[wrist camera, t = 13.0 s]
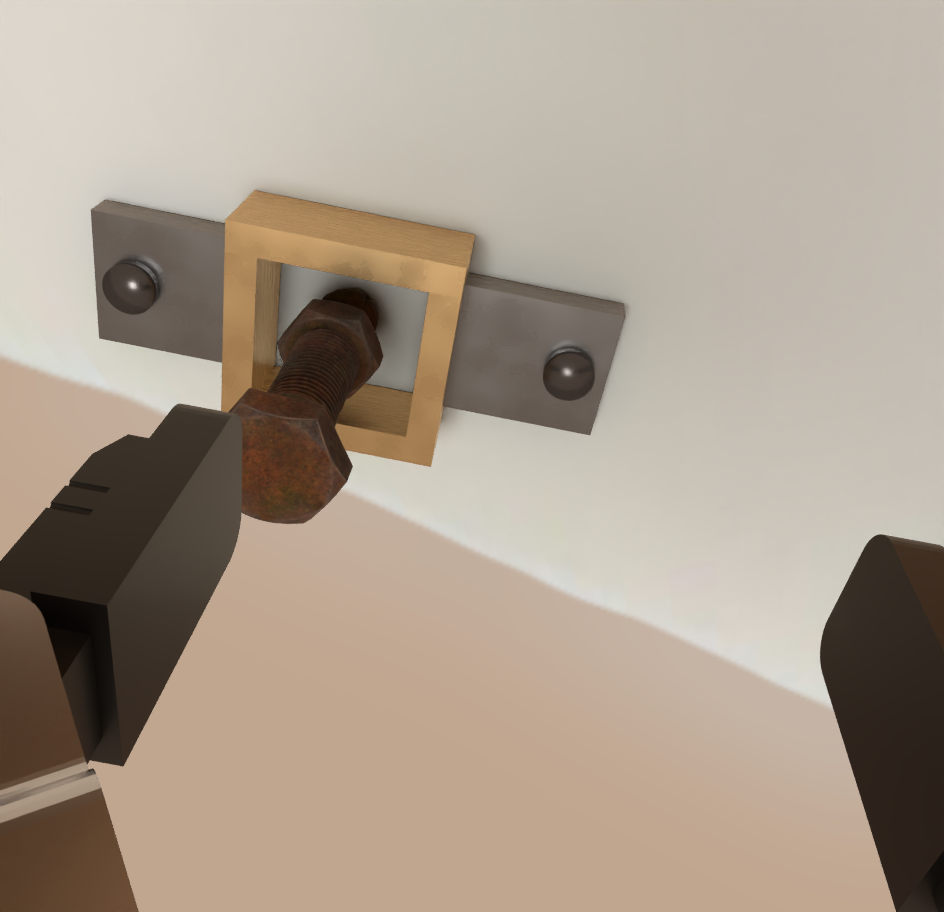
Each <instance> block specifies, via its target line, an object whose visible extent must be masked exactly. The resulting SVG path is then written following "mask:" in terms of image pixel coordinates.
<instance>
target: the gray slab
mask: <svg viewBox="0 0 944 912" xmlns="http://www.w3.org/2000/svg"><path fill="white" fill-rule="evenodd" d="M91 219H92V234H93V249H94V265H95V280H96V296H97V311H98V326H99V338H100V339H105V340H110V341H115V342H120V343H126V344H131V345H136V346H141V347H146V348H151V349H156V350H161V351H166V352H171V353H176V354H181V355H186V356H191V357H196V358H202V359H207V360H212V361H217V362H222V352H223V304H224V256H225V224H223V223H218V222H213V221H208V220H203V219H198V218H193V217H188V216H183V215H178V214H174V213H169V212H164V211H159V210H154V209H149V208H144V207H139V206H134V205H129V204H124V203H119V202H114V201H109V200H104V201H103V202H101V203H100V204H98V205H97V206H96V207H94V208H93V209H91Z"/></svg>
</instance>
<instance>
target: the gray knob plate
mask: <svg viewBox="0 0 944 912" xmlns="http://www.w3.org/2000/svg"><path fill="white" fill-rule="evenodd" d="M624 319H625V312H624V305H623V304H622V303H617V302H612V301H607V300H602V299H597V298H592V297H587V296H582V295H577V294H572V293H567V292H562V291H557V290H552V289H547V288H542V287H537V286H532V285H527V284H522V283H517V282H512V281H507V280H502V279H497V278H492V277H487V276H482V275H477V274H472V273H468V276H467V280H466V284H465V289H464V295H463V300H462V306H461V311H460V317H459V322H458V328H457V333H456V339H455V344H454V350H453V355H452V361H451V366H450V372H449V377H448V383H447V388H446V394H445V399H444V404H443V406H445V407H450V408H455V409H460V410H465V411H470V412H475V413H480V414H485V415H490V416H495V417H500V418H505V419H510V420H516V421H521V422H526V423H531V424H536V425H541V426H546V427H551V428H556V429H561V430H566V431H571V432H576V433H581V434H586V435H590V434H591V431H592V427H593V424H594V420H595V417H596V414H597V410H598V407H599V404H600V400H601V397H602V393H603V390H604V387H605V383H606V380H607V376H608V373H609V370H610V366H611V363H612V360H613V356H614V353H615V349H616V346H617V343H618V339H619V336H620V332H621V329H622V326H623V322H624Z"/></svg>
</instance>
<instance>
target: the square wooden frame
mask: <svg viewBox="0 0 944 912" xmlns="http://www.w3.org/2000/svg"><path fill="white" fill-rule="evenodd" d="M474 239H475V235H474V234H469V233H464V232H459V231H454V230H449V229H444V228H439V227H434V226H429V225H424V224H419V223H414V222H409V221H404V220H399V219H394V218H389V217H384V216H379V215H374V214H369V213H364V212H360V211H355V210H350V209H345V208H340V207H335V206H330V205H325V204H320V203H315V202H310V201H305V200H300V199H295V198H290V197H285V196H280V195H275V194H270V193H265V192H260V191H254V192H253V193H252V194H251V195H250V196H249V197H248V198H247V199H246V200H245V201H244V202H243V203H242V204H241V205H240V206H239V207H238V208H237V209H236V210H235V211H234V212H233V213H232V214H231V215H230V216H229V217H228V218H227V219H226V220H225V256H224V304H223V352H222V400H221V411H223V412H229V411H230V409H231V408H232V407H233V406H234V405H235V404H236V403H237V401H238V400H239V399H240V398H241V397H242V396H243V395H244V393H245V392H246V391H247V390H248V389H249V388H252V389H256V390H261V391H265V392H268V390H269V388H270V386H271V384H272V383H273V381H274V379H275V378H276V376H277V375H278V373H279V371H280V369H281V367H278V366H275V359H276V341H277V324H278V307H279V290H280V273H281V263H285V264H290V265H295V266H300V267H305V268H310V269H315V270H320V271H325V272H330V273H335V274H340V275H345V276H350V277H355V278H360V279H365V280H370V281H375V282H380V283H385V284H390V285H395V286H400V287H405V288H410V289H415V290H420V291H425V292H429V296H428V302H427V309H426V315H425V321H424V327H423V334H422V340H421V346H420V353H419V359H418V365H417V372H416V378H415V384H414V390H413V393H410V392H404V391H399V390H394V389H389V388H384V387H379V386H374V385H369V384H364V385H363V386H362V387H361V388H360V389H359V390H358V391H357V392H356V393H355V394H354V395H353V396H351V397H350V398H349V399H346V401H345V403H344V406H343V408H342V410H341V412H340V414H339V416H338V420H337V423H336V426H335V429H336V431H337V434H338V436H339V438H340V440H341V442H342V444H343V446H344V448H345V450H348V451H353V452H358V453H363V454H368V455H373V456H378V457H384V458H389V459H394V460H399V461H404V462H409V463H414V464H419V465H424V466H429V467H431V463H432V459H433V455H434V450H435V446H436V442H437V437H438V433H439V429H440V424H441V419H442V414H443V408H444V406H443V404H444V399H445V394H446V388H447V383H448V377H449V372H450V366H451V361H452V355H453V350H454V344H455V339H456V333H457V328H458V322H459V317H460V311H461V306H462V300H463V295H464V289H465V284H466V280H467V276H468V272H469V266H470V261H471V255H472V250H473V244H474Z"/></svg>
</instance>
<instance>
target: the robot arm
mask: <svg viewBox="0 0 944 912" xmlns="http://www.w3.org/2000/svg"><path fill="white" fill-rule="evenodd" d="M241 509H242V422H241V419H240V416H239V415H238V414H234V413H228V412H223V411H217V410H212V409H207V408H201V407H196V406H190V405H185V404H177V405H176V406H174V407H173V408H172V410H171V411H170V412H169V413H168V415H167V416H166V417H165V419H164V420H163V421H162V423H161V424H160V425H159V426H158V428H157V429H156V430H155V432H154V433H153V434H152V436H151V437H150V438H144V437H138V436H133V435H127V436H125V437H123V438H121V439H119V440H117V441H115V442H114V443H112V444H110V445H108V446H106V447H104V448H103V449H101V450H99V451H97V452H95V453H93V454H92V455H91V456H90V457H89V458H88V460H87V461H86V462H85V463H84V464H83V466H82V467H81V468H80V469H79V470H78V471H77V472H76V474H75V475H74V476H73V477H72V478H71V479H70V483H69V486H64V488H63V489H62V490H61V491H60V492H59V493H58V495H57V496H56V497H55V498H54V499H53V501H52V502H51V507H50V508H46V509H45V510H44V511H43V512H42V513H41V514H40V516H39V517H38V518H37V519H36V520H35V521H34V523H33V524H32V525H31V526H30V527H29V529H27V531H26V532H25V533H24V534H23V535H22V536H21V538H20V539H19V540H18V541H17V542H16V543H15V545H14V546H13V547H12V548H11V549H10V551H9V552H8V553H7V554H6V555H5V556H4V557H3V559H2V560H1V561H0V912H139V911H138V908H137V905H136V901H135V898H134V895H133V891H132V888H131V885H130V881H129V878H128V875H127V871H126V868H125V865H124V861H123V858H122V855H121V851H120V848H119V845H118V841H117V838H116V835H115V831H114V828H113V825H112V821H111V818H110V815H109V811H108V808H107V805H106V801H105V798H104V795H103V792H102V788H101V786H100V783H99V780H98V777H97V775H96V773H95V770H94V769H90V770H89V769H88V766H87V764H88V762H89V761H90V760H92V761H97V762H102V763H109V764H114V765H119V766H124V764H125V762H126V760H127V758H128V757H129V755H130V753H131V751H132V749H133V747H134V745H135V743H136V741H137V739H138V737H139V735H140V733H141V731H142V730H143V728H144V726H145V724H146V722H147V720H148V718H149V716H150V714H151V712H152V710H153V708H154V706H155V704H156V702H157V701H158V699H159V696H160V695H161V693H162V691H163V689H164V687H165V685H166V683H167V681H168V679H169V677H170V675H171V673H172V672H173V669H174V668H175V666H176V664H177V662H178V660H179V658H180V656H181V654H182V652H183V650H184V648H185V646H186V644H187V642H188V640H189V639H190V637H191V635H192V633H193V631H194V629H195V627H196V625H197V623H198V621H199V619H200V618H201V616H202V613H203V612H204V610H205V608H206V606H207V604H208V602H209V600H210V598H211V596H212V594H213V592H214V591H215V589H216V587H217V585H218V583H219V581H220V579H221V577H222V575H223V573H224V571H225V569H226V567H227V565H228V563H229V561H230V559H231V557H232V554H233V552H234V548H235V545H236V542H237V538H238V534H239V529H240V521H241ZM820 663H821V669H822V673H823V677H824V680H825V683H826V686H827V690H828V693H829V696H830V699H831V703H832V706H833V709H834V712H835V715H836V719H837V722H838V725H839V728H840V732H841V735H842V738H843V741H844V744H845V748H846V751H847V754H848V758H849V761H850V764H851V767H852V770H853V774H854V777H855V780H856V783H857V787H858V790H859V793H860V796H861V800H862V803H863V806H864V809H865V812H866V815H867V819H868V822H869V825H870V828H871V832H872V835H873V838H874V841H875V845H876V848H877V851H878V854H879V857H880V861H881V864H882V867H883V870H884V874H885V877H886V880H887V883H888V887H889V890H890V893H891V896H892V900H893V903H894V906H895V909H896V912H944V547H943V546H940V545H936V544H931V543H925V542H920V541H914V540H909V539H904V538H898V537H893V536H887V535H881V534H880V535H876V536H874V537H873V538H872V539H871V540H870V541H869V542H868V543H867V545H866V546H865V548H864V550H863V552H862V554H861V556H860V558H859V559H858V561H857V563H856V565H855V567H854V569H853V571H852V573H851V575H850V577H849V579H848V581H847V583H846V585H845V587H844V589H843V591H842V593H841V595H840V597H839V599H838V601H837V603H836V605H835V607H834V608H833V610H832V612H831V614H830V616H829V618H828V620H827V623H826V625H825V628H824V631H823V635H822V640H821V648H820Z"/></svg>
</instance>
